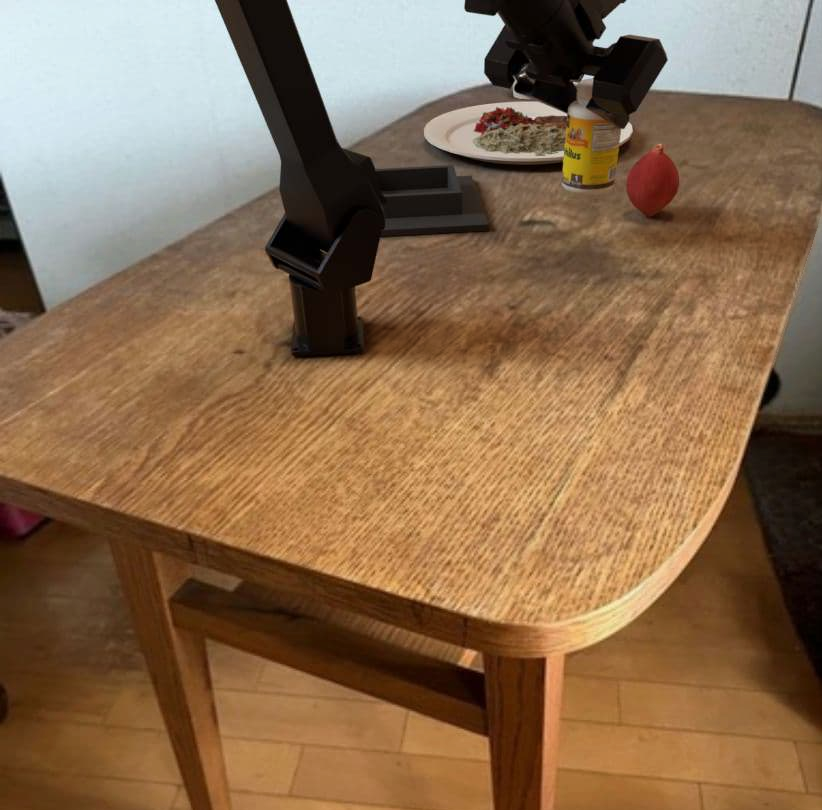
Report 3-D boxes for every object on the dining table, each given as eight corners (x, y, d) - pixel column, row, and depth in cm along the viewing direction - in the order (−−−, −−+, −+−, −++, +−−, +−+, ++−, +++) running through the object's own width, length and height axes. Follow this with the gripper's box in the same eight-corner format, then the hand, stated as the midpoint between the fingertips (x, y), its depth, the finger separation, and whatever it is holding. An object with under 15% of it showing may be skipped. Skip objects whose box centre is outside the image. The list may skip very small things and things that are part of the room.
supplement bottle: (554, 182, 93) (562, 78, 86) (602, 178, 94) (614, 74, 87) (571, 199, 89) (581, 90, 82) (621, 194, 89) (635, 86, 83)
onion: (616, 220, 99) (625, 147, 94) (630, 205, 103) (639, 134, 98) (666, 227, 97) (677, 153, 92) (679, 211, 101) (691, 139, 96)
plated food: (566, 187, 109) (568, 159, 107) (382, 151, 123) (381, 126, 121) (665, 130, 127) (669, 105, 125) (495, 105, 141) (496, 83, 139)
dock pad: (488, 231, 98) (489, 201, 96) (349, 238, 98) (347, 209, 96) (471, 181, 112) (471, 154, 110) (349, 187, 112) (347, 161, 109)
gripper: (673, -73, 69) (725, 61, 81) (509, -82, 80) (578, 37, 92) (596, 52, 70) (660, 165, 82) (446, 26, 81) (522, 129, 94)
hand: (603, 119), depth 88 cm, fingers closed on supplement bottle, 5 cm apart
